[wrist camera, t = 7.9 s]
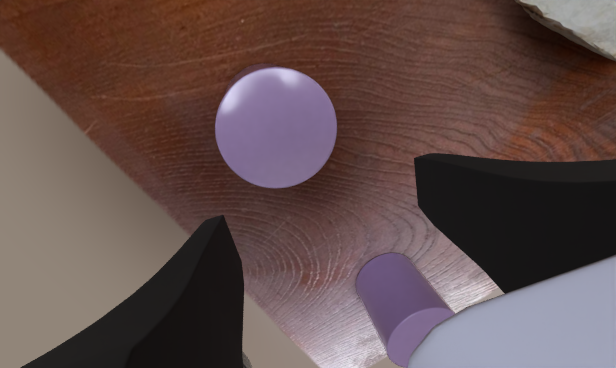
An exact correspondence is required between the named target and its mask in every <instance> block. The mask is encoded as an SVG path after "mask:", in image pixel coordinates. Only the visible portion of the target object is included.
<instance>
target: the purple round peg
mask: <svg viewBox="0 0 616 368" xmlns="http://www.w3.org/2000/svg"><path fill="white" fill-rule="evenodd" d="M356 291H357V294H358V296H359V298H360V300H361V302H362V304H363V306H364V308H365V310H366V312H367V314H368V316H369V318H370V320H371V322H372V325H373V327H374V329H375V331H376V333H377V335H378V337H379V339H380V341H381V343H382V345H383V347H384V349H385V351H386V353H387V355H388V357H389V359H390V360H391V361H392V362H393V363H395V364H396V365H398V366H401V367H405V368H408V363H409V359H410V356H411V354H412V352H413V351H414V349H415V348H416V347H417V346H418V345H419V343H420V342H421V341H422V340H423V339H424V337H425V336H426V335H427V334H428V333H429V332H430V330H431V329H432V328H433V327H434V326H435V325H436V324H438V323H440V322H442V321H444V320H445V319H447V318H449V317H451V316H452V315H454V314H455V312H454V311H453V310H452V309H451V308H450V306H449V305H448V304H447V303H446V301H445V300H444V299H443V298H442V297H441V295H440V294H439V293H438V292H437V291H436V289H435V288H434V287H433V286H432V285H431V283H430V282H429V281H428V280H427V279H426V277H425V276H424V275H423V274H422V273H421V271H420V270H419V269H418V268H417V267H416V265H415V264H414V263H413V262H412V261H411V260H410V259H409V258H408V257H407V256H405V255H402V254H399V253H387V254H383V255H380V256H377V257H375V258H373V259H372V260H370V261H369V262H368V263H367V264H366V265H365V266H364V267H363V268H362V269H361V271H360V272H359V274H358V276H357V280H356Z"/></svg>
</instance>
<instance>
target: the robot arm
mask: <svg viewBox="0 0 616 368" xmlns="http://www.w3.org/2000/svg"><path fill="white" fill-rule="evenodd" d="M414 164H415V176H416V187H417V198H418V206H419V207H420V209H421V210H422V211H423V213H424V214H425V215H426V216H427V218H428V219H429V220H430V221H431V222H432V223H433V225H434V226H436V227H437V228H438V229H439V230H440V231H441V232H442V233H443V234H444V235H445V236H446V237H447V238H449V239H450V240H451V241H452V242H453V243H454V244H455V245H456V246H458V247H459V248H460V249H461V250H462V251H463V252H464V253H465V254H466V255H468V256H469V257H470V258H471V259H472V260H473V261H474V262H475V263H477V264H478V265H479V266H480V267H481V268H482V269H483V270H484V271H485V272H486V273H487V274H488V276H489V277H490V278H491V279H492V280H493V281H494V282H495V283H496V284H497V286H498V287H499V288H500V289H501V290H502V291H503V292H504V293H505V294H503V295H501V296H497V297H495V298H492V299H489V300H486V301H483V302H481V303H478V304H475V305H472V306H469V307H466V308H465V309H463V310H461V311H459V312H458V313H456V314H454V315H452V316H451V317H449V318H447V319H445V320H444V321H442V322H440V323H438V324H436V325H435V326H434V327H433V328H432V329H431V330H430V332H429V333H428V334H427V335H426V336H425V337H424V339H423V340H422V341H421V342H420V343H419V345H418V346H417V347H416V348H415V349H414V351H413V352H412V354H411V356H410V359H409V363H408V368H616V159H614V160H601V161H579V162H529V161H512V160H499V159H489V158H479V157H471V156H462V155H453V154H440V153H431V154H426V155H423V156H419V157H416V158H414ZM243 304H244V279H243V270H242V262H241V259H240V256H239V254H238V251H237V249H236V246H235V243H234V241H233V238H232V236H231V233H230V231H229V228H228V226H227V223H226V221H225V218H224V215H221V216H217V217H214V218H211V219H207V220H205V221H204V222H203V223H202V224H201V225H200V226H199V227H198V229H197V230H196V231H195V232H194V233H193V234H192V235H191V237H190V238H189V239H188V240H187V241H186V242H185V244H184V245H183V246H182V247H181V248H180V249H179V251H178V252H177V253H176V254H175V255H174V256H173V257H172V258H171V259H170V260H169V261H168V262H167V263H166V264H165V265H164V266H163V267H162V268H161V269H160V270H159V271H158V272H157V273H156V274H155V275H154V276H153V277H152V278H151V279H150V280H149V281H148V282H146V283H145V284H144V285H143V286H142V287H140V288H139V289H138V290H137V291H136V292H135V293H134V294H132V295H131V296H130V297H128V298H127V299H126V300H124V301H123V302H122V303H120V304H119V305H118V306H116V307H115V308H114V309H113V310H111V311H110V312H108V313H107V314H106V315H105V316H103V317H102V318H101V319H99V320H97V321H96V322H95V323H93V324H92V325H90V326H89V327H87V328H86V329H84V330H83V331H81V332H80V333H78V334H76V335H75V336H73V337H72V338H70V339H68V340H67V341H65V342H64V343H62V344H61V345H59V346H57V347H56V348H54V349H52V350H51V351H49V352H47V353H46V354H44V355H42V356H40V357H38V358H37V359H35V360H33V361H31V362H30V363H28V364H26V365H24V366H22V367H21V368H243V359H242V331H243Z"/></svg>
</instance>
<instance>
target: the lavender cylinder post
mask: <svg viewBox="0 0 616 368" xmlns="http://www.w3.org/2000/svg"><path fill="white" fill-rule="evenodd" d="M336 135H337V120H336V114H335V110H334V107H333V105H332V102H331V100H330V98H329V97H328V95H327V93H326V92H325V91H324V90H323V88H322V87H321V86H320V85H319V84H318V83H317V82H316V81H315V80H313V79H312V78H310V77H309V76H307V75H305V74H303V73H301V72H299V71H296V70H293V69H290V68H286V67H283V66H279V65H275V64H267V63H263V64H256V65H252V66H249V67H247V68H245V69H243V70H242V71H240V72H239V73H238V74H237V75H236V76H235V77H234V78H233V79H232V80H231V81H230V83H229V84H228V86H227V88H226V90H225V93H224V95H223V98H222V100H221V103H220V106H219V108H218V111H217V115H216V121H215V136H216V141H217V145H218V148H219V151H220V153H221V155H222V157H223V159H224V160H225V162H226V163H227V165H228V166H229V167H230V168H231V169H232V171H234V172H235V173H236V174H237V175H238V176H240V177H241V178H243V179H244V180H246V181H248V182H250V183H252V184H255V185H257V186H261V187H266V188H285V187H290V186H294V185H297V184H299V183H302V182H304V181H306V180H307V179H309V178H310V177H312V176H313V175H315V174H316V173H317V172H318V171H319V170H320V169H321V168H322V167H323V165H324V164H325V163H326V161H327V160H328V158H329V157H330V155H331V153H332V150H333V148H334V145H335V141H336Z"/></svg>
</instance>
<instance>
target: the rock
mask: <svg viewBox="0 0 616 368" xmlns="http://www.w3.org/2000/svg"><path fill="white" fill-rule="evenodd" d="M515 2H516V3H518V4H520V5H522V6H523V9H524V10H525V11H526V12H527V13H529V14H530V17H532V18H533V19H534V20H536V21H538V22H539V23H541V24H542V25H544V26H545V27H547V28H549V29H550V30H552V31H555V32H557V33H559V34H561V35H563V36H564V37H566V38H567V39H568V40H571V41H573V42H575V43H576V44H579V45H582V46H583V47H585V48H587V49H589V50H591V51H593V52H595V53H598V54H600V55H602V56H604V57H606V58H608V59H611V60H614V61H616V0H515Z"/></svg>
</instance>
